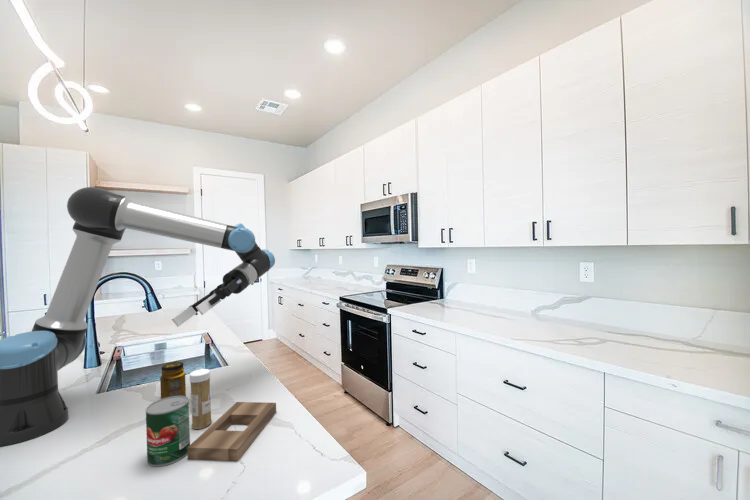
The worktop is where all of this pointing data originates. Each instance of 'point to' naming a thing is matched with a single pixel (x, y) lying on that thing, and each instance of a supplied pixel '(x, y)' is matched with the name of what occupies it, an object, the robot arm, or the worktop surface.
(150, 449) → the canned tomato
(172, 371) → the condiment
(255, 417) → the hole board
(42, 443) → the worktop surface
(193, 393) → the sprinkles bottle
